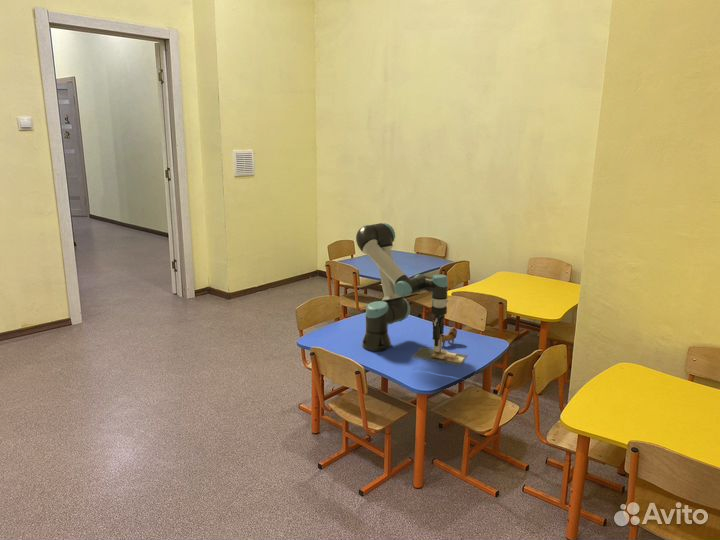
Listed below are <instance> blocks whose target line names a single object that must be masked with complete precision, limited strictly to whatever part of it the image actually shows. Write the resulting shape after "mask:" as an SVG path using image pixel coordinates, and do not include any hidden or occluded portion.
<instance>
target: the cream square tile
mask: <svg viewBox="0 0 720 540" xmlns="http://www.w3.org/2000/svg"><path fill="white" fill-rule="evenodd" d="M449 352H450V351H448V352H447V354H446V355H445V358H444V359H447V360H453V361H454V360H455V359H456V358H457V354H458V353H457V354H455V353H456V352H451V353H449Z"/></svg>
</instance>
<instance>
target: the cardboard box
mask: <svg viewBox="0 0 720 540" xmlns="http://www.w3.org/2000/svg"><path fill="white" fill-rule="evenodd" d="M442 335H443V334H440V335H439V339H440V350H439V352H435V351H434V353H433V354H432V357H435V358H440V359H444V357H445V355H446V354H447V352H449V350H443V349H441V341H442Z"/></svg>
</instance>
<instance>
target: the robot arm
mask: <svg viewBox="0 0 720 540" xmlns="http://www.w3.org/2000/svg"><path fill="white" fill-rule="evenodd" d="M395 239H396V232H395V230H394V228H393V226H391V225H390V224H389V223H386V222H379V223H374V224H367V225H363V226H361V227H360V228H359V229H358V231H357V233H356V236H355V241H356V245H357V246H358V249H360V251H361V252H362V253H363V254H365V255H367V256H368V257H369V258H370V259H371V260H372V262H373V263H374V264H375V265H376V266H377V267H378V272H379V277H380V282H381V287H382V291H383V298H382V299H381V300H380V301H379V300H378V301H373V302H372V301H371V302H370V303H369V304H367V305H366V308H365V334H364V336H363V339H362V345H361V346H362V348H363V349H365V350H367V351H371V352H385V351H387V350H389V349H390V348H391V345H392V342H391V337H390V336H389V330H388V329H389V325H393V324H396V323H398V322H399V323H400V322H402V321H404V320H406V319H407V318H408V316H410V312H411V306H410V303H409V301H408V300H407V299H406V298H404V297H409V296H410V295H414V294H418V293H422V292H429V293H431V314H433V316H434V317H433V321H432V340H433V349H434V351H435V352H439V350H440V339H439V335H440V334H442V337H444V335H445V334H444V331H445V330H444V327H445V318H446V314H447V313H448V302H449V300H448V289H449V277H448V276H447V275H445V274H441V273H440V274H433V275H432V276H428V275H425V274H419V273H418V274H416V275H414V276H413V277H411V278H409V277H408V275H407V274H406V273H405V272H404V271H403V270H402V269H401V268H400V266H399V265H398V264H396V262H394V257H393V254H392V249H393V247H394V245H393V243H394V242H395ZM442 347H443V343H442V341H441V350H443V349H442Z"/></svg>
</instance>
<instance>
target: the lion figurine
mask: <svg viewBox="0 0 720 540" xmlns="http://www.w3.org/2000/svg"><path fill="white" fill-rule="evenodd" d="M443 335H444V337H442V347H443V348H446V347H447V346H446V344H445V343H446V342H447V344H450V341H451V345H454V343H455V339H456V338H457V335H458V330H457V328H456V327H454V326H452V327H450V328H449V332H448V333H447V334H443Z"/></svg>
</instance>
